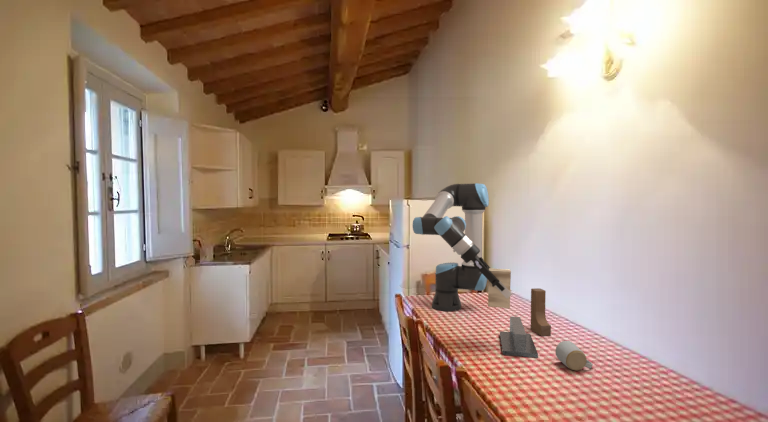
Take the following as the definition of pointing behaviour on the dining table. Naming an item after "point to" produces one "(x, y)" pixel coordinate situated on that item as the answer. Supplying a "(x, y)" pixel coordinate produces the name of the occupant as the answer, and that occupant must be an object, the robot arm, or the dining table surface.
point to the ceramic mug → (572, 356)
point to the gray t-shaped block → (517, 340)
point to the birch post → (494, 294)
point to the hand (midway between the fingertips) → (509, 294)
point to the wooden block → (539, 313)
